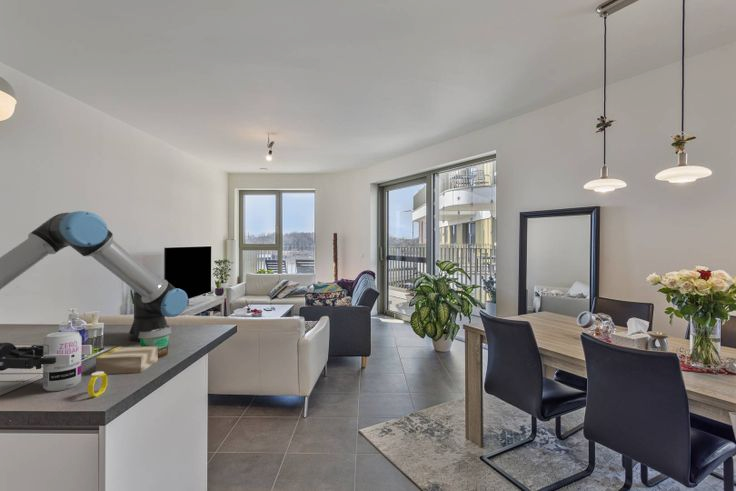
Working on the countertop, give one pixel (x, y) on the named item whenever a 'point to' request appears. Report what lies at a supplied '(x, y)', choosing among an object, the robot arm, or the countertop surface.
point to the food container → (157, 339)
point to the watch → (92, 382)
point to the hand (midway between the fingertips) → (81, 354)
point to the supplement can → (62, 374)
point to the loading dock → (127, 359)
